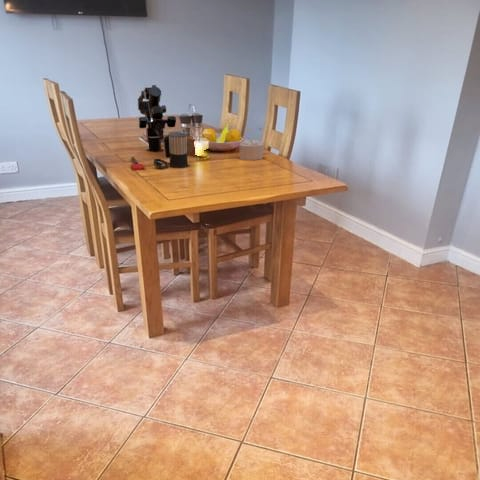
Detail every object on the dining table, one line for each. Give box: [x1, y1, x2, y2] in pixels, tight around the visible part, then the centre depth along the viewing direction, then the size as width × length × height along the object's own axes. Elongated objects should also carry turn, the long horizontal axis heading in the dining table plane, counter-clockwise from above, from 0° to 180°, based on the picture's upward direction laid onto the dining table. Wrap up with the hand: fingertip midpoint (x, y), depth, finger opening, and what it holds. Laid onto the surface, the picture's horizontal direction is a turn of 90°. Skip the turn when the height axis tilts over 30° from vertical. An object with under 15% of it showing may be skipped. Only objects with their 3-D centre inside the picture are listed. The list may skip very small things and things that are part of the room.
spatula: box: [130, 156, 146, 171], centre depth 224 cm, size 21×6×1 cm, turn 19°
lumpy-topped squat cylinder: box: [238, 138, 265, 161], centre depth 240 cm, size 10×13×9 cm
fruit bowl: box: [201, 123, 245, 152], centre depth 257 cm, size 28×27×11 cm
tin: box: [187, 137, 201, 158], centre depth 242 cm, size 15×3×8 cm, turn 47°
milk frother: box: [153, 132, 189, 169], centre depth 219 cm, size 14×16×15 cm
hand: (160, 136), depth 231 cm, fingers closed
